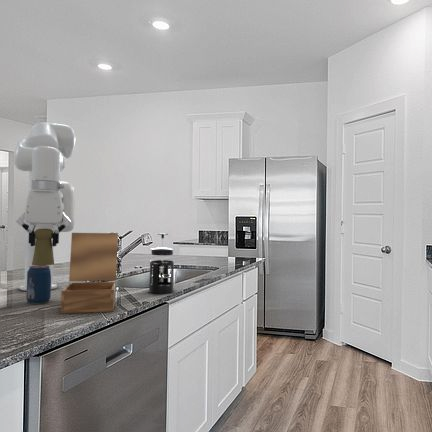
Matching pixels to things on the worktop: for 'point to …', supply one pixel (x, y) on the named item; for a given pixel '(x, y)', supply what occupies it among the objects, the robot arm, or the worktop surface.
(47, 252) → the cork
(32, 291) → the soda can
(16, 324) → the worktop surface
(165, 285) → the french press
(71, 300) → the chest
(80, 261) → the lid
